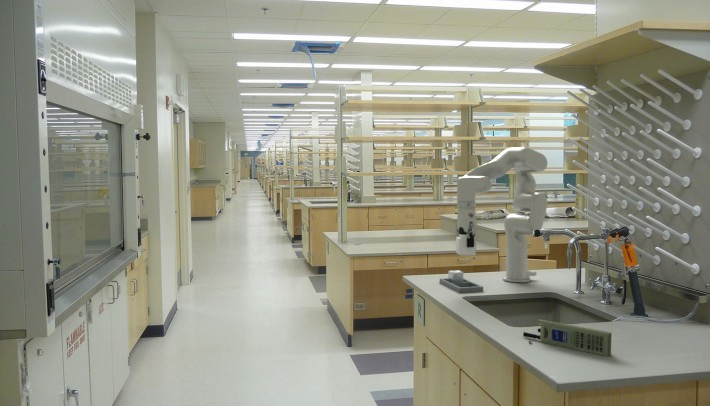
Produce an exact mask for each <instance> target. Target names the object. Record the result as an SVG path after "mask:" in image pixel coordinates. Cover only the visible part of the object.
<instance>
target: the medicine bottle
mask: <svg viewBox="0 0 710 406" xmlns="http://www.w3.org/2000/svg"><path fill="white" fill-rule="evenodd" d="M468 231H471V230H468ZM469 235H470V233H469ZM459 236H460V237H458V236H455V237H456V238H455V253H456V254H457V255H459V256H476V255H477V239H476V238H474V247H469V248H468V247H467V238H468V236H467V233H466V232H464V229H463V228H462V227H459Z"/></svg>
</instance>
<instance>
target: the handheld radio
mask: <svg viewBox="0 0 710 406" xmlns="http://www.w3.org/2000/svg"><path fill="white" fill-rule="evenodd" d="M537 321H539V322H538V327H539V326H540V328H537V333H539V335H538V334H535V333H532V332H531V333H530V332H525V331H523V334H522V336H523V337H527V338H531V339H535V340H536V339H537V340H540V341H539V343H543V344H547V345H553V346H557V347H562V348H566V349H572V350H575V351H581V352H583V353H584V352H586V353H589V354H595V355H599V356H605V357H610V356H611V355H612V331H611V332H610V331H605V330H599V329H595V328H588V327H583V326H577V325H572V324H566V323H562V322H555V321H550V320H546V319H545V320H544V319H537Z"/></svg>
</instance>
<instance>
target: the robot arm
mask: <svg viewBox="0 0 710 406" xmlns="http://www.w3.org/2000/svg"><path fill="white" fill-rule="evenodd" d="M547 159H548V158H547V157H546V156H545V155H544V154H543V153H541V152H538V151H536V150H534V149H532V148H529V147H526V146H523V147H522V146H519V147H508V148H505V149H504V150H503V151H501V152H500V153H499V154H498V155H497V156H495V158H493V159H492V160H491V161H489V162H486V163H483V164H482V165H480V166H477V167H475V168H473V169H471V170H469V171H468V172H467V173H466V174H464V175H463V176H460V177H458V178H457V181H456V208H457V209H456V210H457V214H456V215H457V218H456V231H457V233H456V234H457V237H460V236H459V227H462V228H463V229H464V232H466V233H467V236H468V238H467V247H468V248H469V247H474V238H475V237H476V232H477V216H476V194H486V193H488V192H489V191H490V190H491V189H492V186H493V183H492V181H491V180H495V179H499V178H501V177H503V176H505V175H506V174H507V173H508V172H509V171H510V170H511V169H513V170H514V173H515V175H516V180H517V184H516V187H515V193H514V197H513V200H512V208H513V209H514V210H515V211H517V212H519V213H510V214H508V215H507V216H505V218H504V220H503V221H504V223H503V225H504V226H503V227H504V231H505V237H506V238H505V239H506V240H505V241H506V242H505V244H506V249H505V250H506V251H505V252H506V253H505V256H506V257H505V262H506V264H505V267H506V268H505V275H504V276H502V280H503V281H504V282H509V283H510V282H511V283H518V282H519V283H521V282H522V283H528V282H531V276H532V277H535V276H537V271H529V270H528V240H527V238H526V236H534V235H533V231H534V230H536V229H541V230H542V228H543V226H544V221H545V218H546V214H547V208H548V200H547V199H548V198H547V197H546V195H545V194H544V193H542V192H537V191H536V185H537V183H536V182H537V181H536V179H535V178H534V176H533V173H542V172H544V171H545V170H546V169H547V167H548V160H547ZM535 191H536V192H535ZM520 212H521V213H520ZM526 213H527V214H526ZM528 213H529V214H528ZM468 230H471V231H468ZM469 233H470V235H469ZM475 239H476V238H475ZM522 283H521V284H522Z"/></svg>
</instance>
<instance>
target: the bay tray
mask: <svg viewBox="0 0 710 406" xmlns="http://www.w3.org/2000/svg"><path fill="white" fill-rule="evenodd" d="M439 284H440V285H442V286H444V287H447V288H448V289H450V290H452V291H455V292H457V293H458V294H466V293H480V292H481V293H482V292H484V286H483V285H481V284H478V283H475V282H473V281H471V280H469V279H466V278H464V277H463V282H457V283H450V282H448V277H447V278H445V277H444V278H439Z"/></svg>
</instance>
